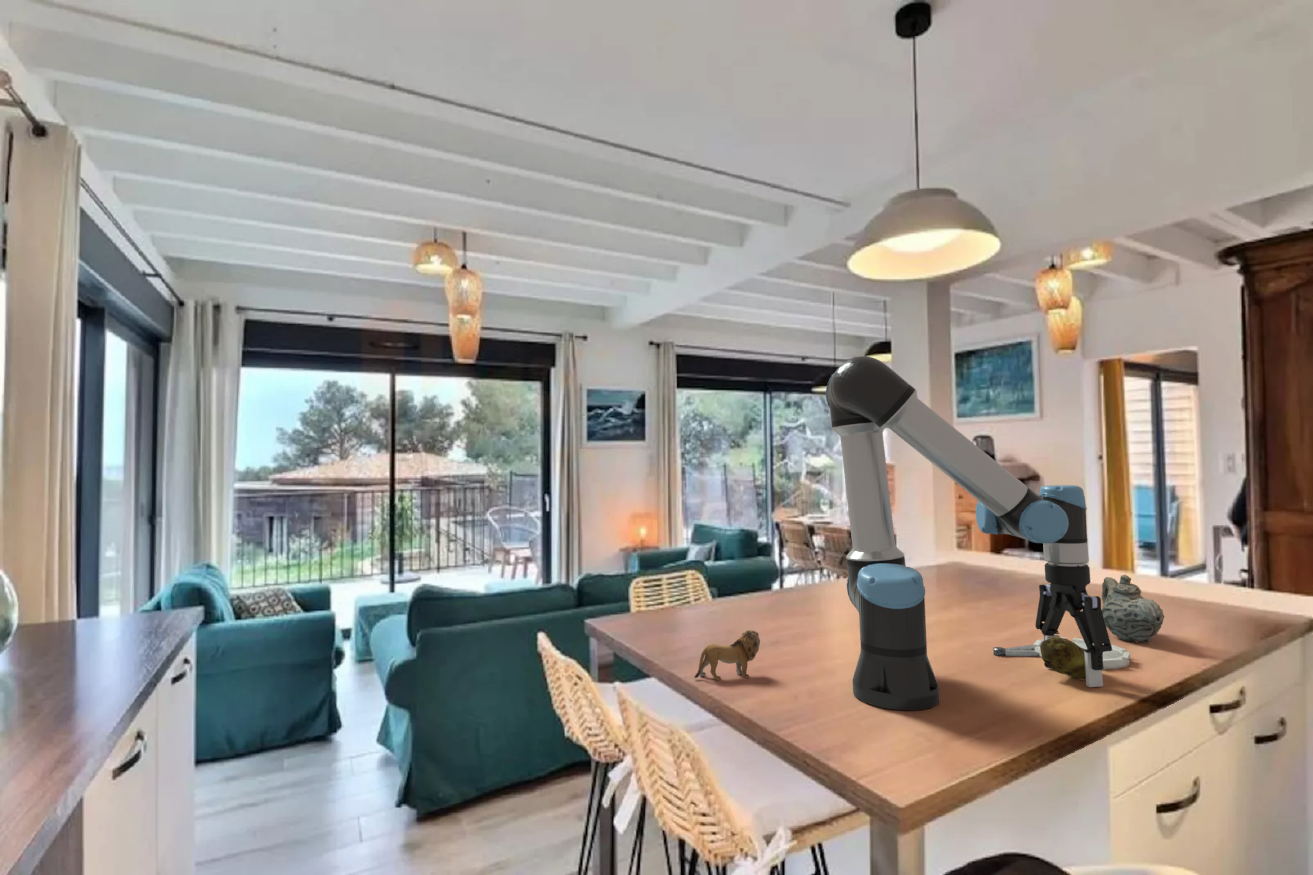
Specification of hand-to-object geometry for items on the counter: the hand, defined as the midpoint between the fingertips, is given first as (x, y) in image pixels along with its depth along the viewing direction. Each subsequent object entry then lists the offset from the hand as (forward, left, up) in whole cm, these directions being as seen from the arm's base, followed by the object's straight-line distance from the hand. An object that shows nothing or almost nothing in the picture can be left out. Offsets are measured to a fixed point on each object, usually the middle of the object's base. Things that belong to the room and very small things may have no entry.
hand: (1073, 676), depth 124 cm
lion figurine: (-66, +12, 0) cm, 67 cm away
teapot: (+32, +23, 0) cm, 39 cm away
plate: (+11, +12, 0) cm, 16 cm away
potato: (0, 0, 0) cm, 0 cm away
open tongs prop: (+2, +16, 0) cm, 16 cm away
